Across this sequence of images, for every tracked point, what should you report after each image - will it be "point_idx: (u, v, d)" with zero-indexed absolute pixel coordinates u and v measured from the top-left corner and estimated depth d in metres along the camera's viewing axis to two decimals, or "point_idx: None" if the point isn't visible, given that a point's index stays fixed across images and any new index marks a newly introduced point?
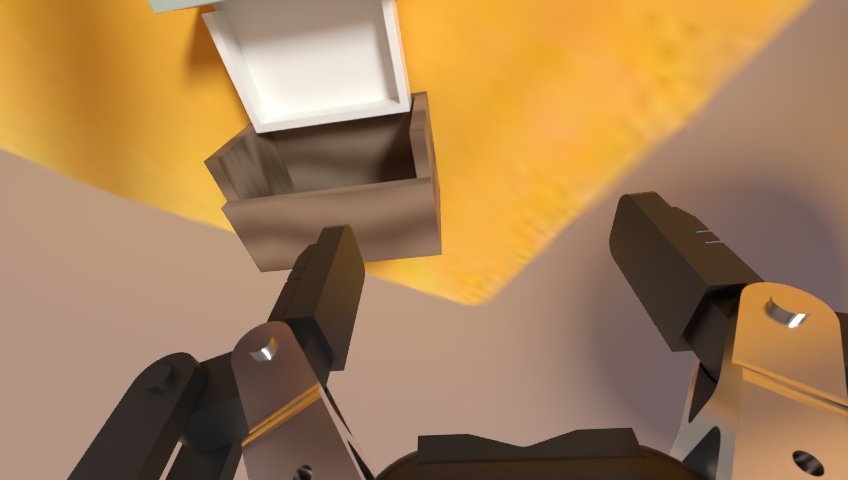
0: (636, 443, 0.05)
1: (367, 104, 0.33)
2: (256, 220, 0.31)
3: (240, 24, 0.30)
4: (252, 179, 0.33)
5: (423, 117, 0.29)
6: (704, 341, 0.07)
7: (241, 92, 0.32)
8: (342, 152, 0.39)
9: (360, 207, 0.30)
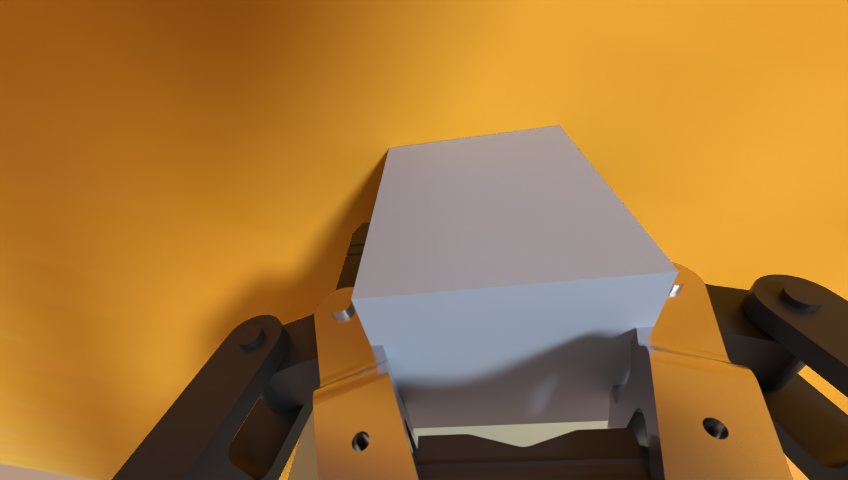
0: (636, 443, 0.05)
1: None
2: None
3: None
4: None
5: None
6: None
7: None
8: None
9: None
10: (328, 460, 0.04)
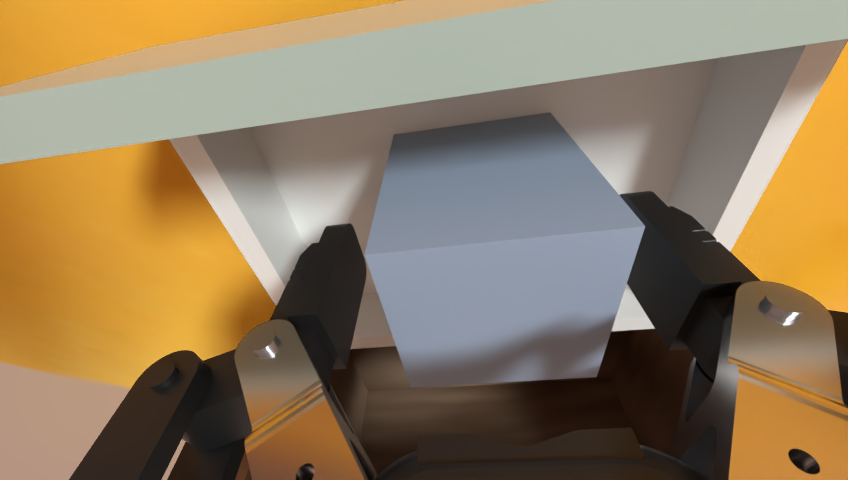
0: (636, 443, 0.05)
1: None
2: None
3: (277, 130, 0.11)
4: None
5: None
6: (700, 340, 0.07)
7: (276, 291, 0.12)
8: None
9: None
10: None
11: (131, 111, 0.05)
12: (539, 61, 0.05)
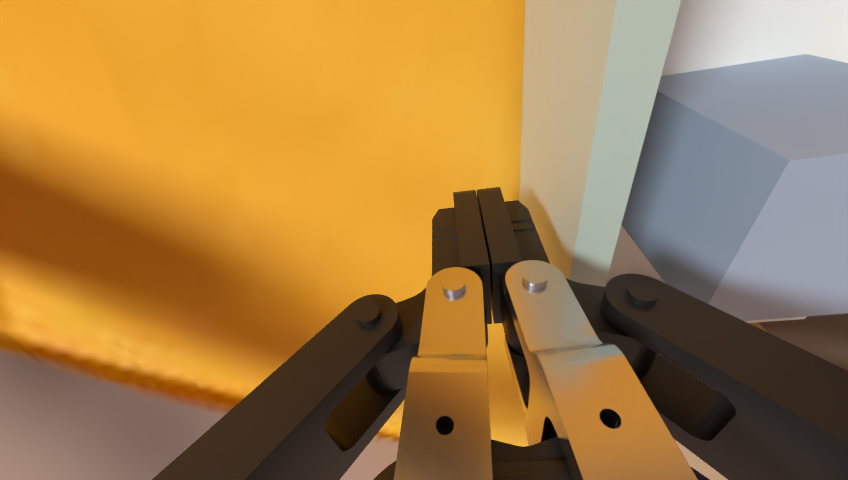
0: None
1: None
2: None
3: None
4: None
5: None
6: (502, 311, 0.08)
7: None
8: None
9: None
10: (411, 429, 0.05)
11: None
12: (606, 232, 0.08)
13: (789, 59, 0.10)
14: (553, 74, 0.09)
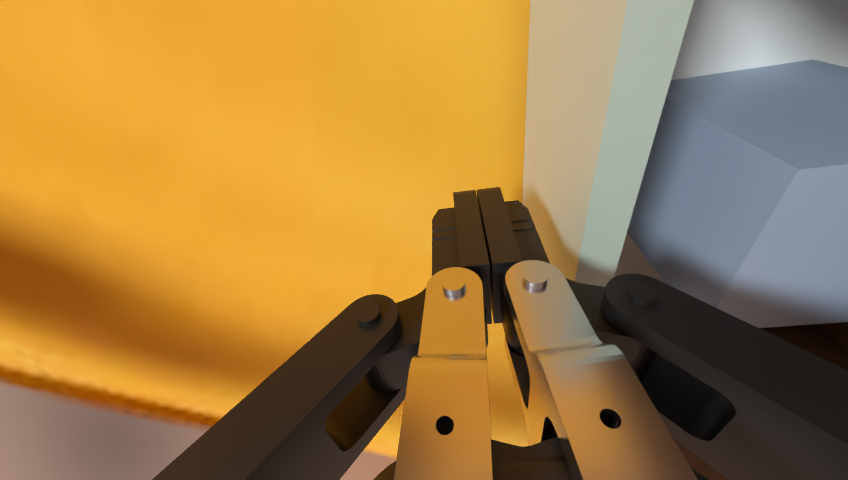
0: None
1: None
2: None
3: None
4: None
5: None
6: (503, 311, 0.08)
7: None
8: None
9: None
10: (411, 428, 0.05)
11: None
12: (611, 239, 0.08)
13: (795, 64, 0.10)
14: (559, 79, 0.09)
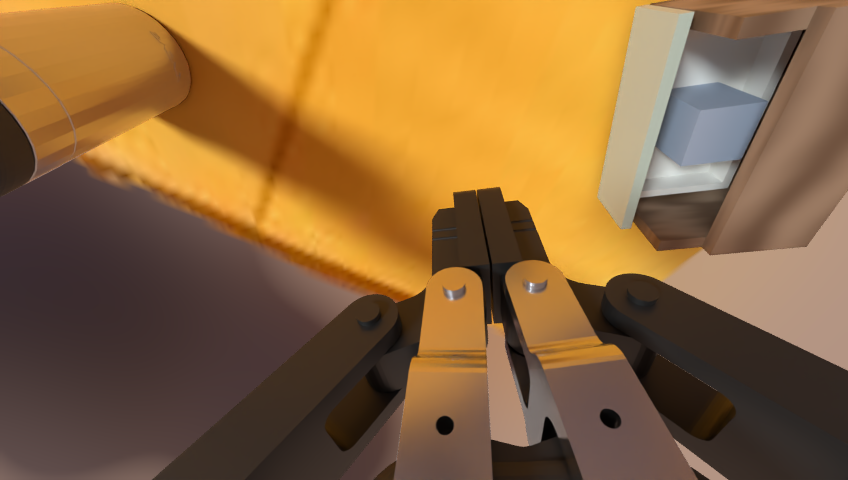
0: None
1: (760, 67, 0.30)
2: (741, 231, 0.29)
3: None
4: (682, 217, 0.34)
5: (709, 14, 0.23)
6: (502, 311, 0.08)
7: (689, 189, 0.36)
8: None
9: (804, 117, 0.23)
10: (411, 428, 0.05)
11: (634, 196, 0.33)
12: (654, 133, 0.29)
13: (712, 83, 0.31)
14: (638, 89, 0.30)
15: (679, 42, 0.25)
